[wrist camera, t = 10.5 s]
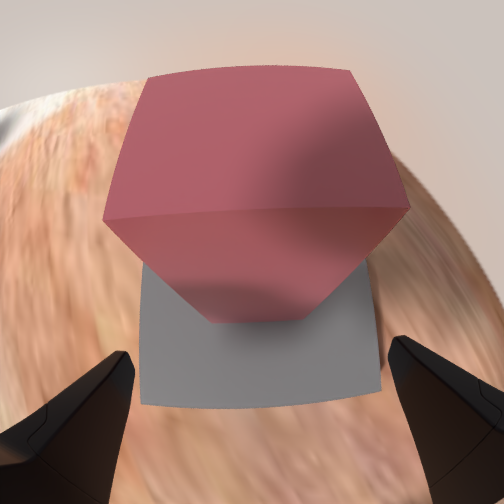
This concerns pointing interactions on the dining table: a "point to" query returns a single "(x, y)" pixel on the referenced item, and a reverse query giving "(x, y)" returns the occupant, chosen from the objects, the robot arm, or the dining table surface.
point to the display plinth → (257, 351)
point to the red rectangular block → (254, 187)
